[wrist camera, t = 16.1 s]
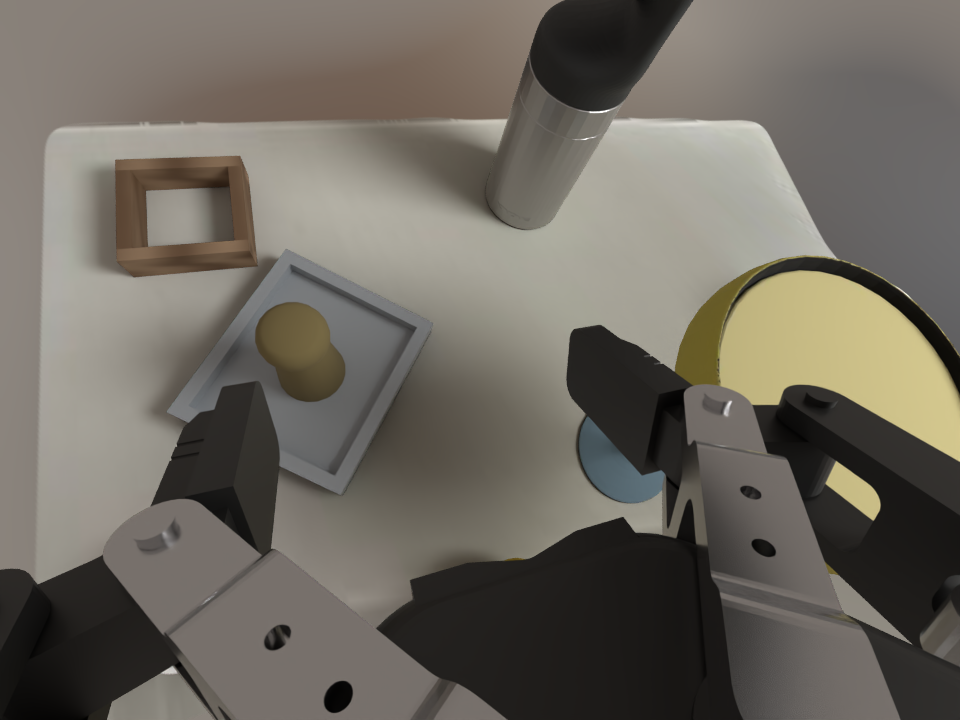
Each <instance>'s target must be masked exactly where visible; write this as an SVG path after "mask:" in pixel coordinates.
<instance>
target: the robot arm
mask: <svg viewBox="0 0 960 720" xmlns="http://www.w3.org/2000/svg"><path fill="white" fill-rule="evenodd" d="M692 2H693V0H564V1H562V2H560V3H558V4H556V5H554V6H553V7H552V8H550V9H549V10H548V11H547V12H546V14H545V15H544V17H543V18H542V20H541V21H540V24H539V26H538V28H537V31H536V34H535V37H534V40H533V43H532V46H531V50H530V52H529V55H528V58H527V61H526V64H525V68H524V71H523V74H522V77H521V80H520V83H519V86H518V89H517V92H516V95H515V99H514V102H513V105H512V108H511V111H510V114H509V117H508V120H507V123H506V126H505V129H504V132H503V135H502V138H501V141H500V144H499V147H498V150H497V153H496V156H495V159H494V162H493V165H492V168H491V171H490V174H489V177H488V181H487V184H486V198H487V202H488V204H489V206H490V208H491V209H492V211H493V212H494V214H495V215H496V216H497V217H499V218H500V219H501V220H502V221H504V222H505V223H507V224H509V225H511V226H513V227H516V228H521V229H536V228H540V227H543V226H545V225H546V224H548V223H549V222H551V220H552V219H553V218H554V217H555V215H556V213H557V212H558V210H559V208H560V207H561V205H562V204H563V202H564V200H565V199H566V197H567V196H568V194H569V192H570V191H571V189H572V187H573V186H574V184H575V182H576V181H577V179H578V177H579V176H580V174H581V172H582V171H583V169H584V167H585V166H586V164H587V162H588V161H589V159H590V157H591V156H592V154H593V152H594V151H595V149H596V147H597V146H598V144H599V142H600V141H601V139H602V137H603V136H604V134H605V132H606V131H607V129H608V127H609V126H610V124H611V122H612V120H613V119H614V117H615V116H616V114H617V112H618V110H619V109H620V107H621V106H622V104H623V102H624V101H625V99H626V97H627V96H628V94H629V92H630V91H631V89H632V88H633V86H634V85H635V84H636V83H637V82H638V81H639V80H640V78H641V77H642V76H643V75H644V73H645V72H646V70H647V69H648V67H649V65H650V64H651V63H652V61H653V59H654V58H655V56H656V55H657V53H658V51H659V50H660V49H661V47H662V45H663V44H664V43H665V41H666V40H667V38H668V37H669V35H670V33H671V32H672V31H673V29H674V28H675V26H676V25H677V23H678V22H679V20H680V19H681V17H682V16H683V15H684V13H685V12H686V10H687V9H688V7H689V6H690V5H691V3H692ZM566 380H567V387H568V391H569V394H570V396H571V397H572V399H573V400H574V401H575V402H576V404H577V405H578V406H579V407H580V408H581V409H582V410H583V411H584V412H585V413H586V415H587V416H588V417H589V418H590V419H591V420H592V421H593V422H594V423H595V424H596V426H597V427H598V428H599V429H600V430H601V431H602V432H603V433H604V434H605V435H606V437H607V438H608V439H609V440H610V441H611V442H612V443H613V444H614V445H615V446H616V448H617V449H618V450H619V451H620V452H621V453H622V454H623V455H624V456H625V458H626V459H627V460H628V461H629V462H630V463H631V464H632V465H633V466H634V467H635V469H636V470H637V471H638V472H639V473H640V474H641V475H642V476H643V475H646V474H650V473H654V472H657V471H661V470H662V471H663V472H664V473H665V475H664V479H663V484H662V535H659V534H652V533H635V532H634V530H633V529H632V528H631V526H630V525H629V524H628V523H627V521H626V520H625V519H624V517H621V518H618V519H614V520H611V521H608V522H604V523H601V524H597V525H594V526H591V527H587V528H584V529H581V530H577V531H575V532H573V533H572V534H570V535H568V536H567V537H565V538H564V539H562V540H560V541H559V542H557V543H556V544H554V545H552V546H551V547H549V548H547V549H546V550H544V551H543V552H541V553H539V554H538V555H536V556H534V557H532V558H530V559H525V560H510V561H492V562H475V563H466V564H463V565H459V566H456V567H452V568H449V569H446V570H442V571H439V572H436V573H432V574H429V575H425V576H422V577H419V578H415V579H412V580H410V583H411V590H412V596H413V600H411V601H410V602H408V603H406V604H405V605H403V606H402V607H400V608H399V609H398V610H396V611H395V612H394V613H392V614H391V615H390V616H389V617H388V618H387V619H385V620H384V621H383V622H382V623H381V624H380V625H379V626H378V627H377V628H374V627H373V626H372V625H371V624H369V623H368V622H367V621H366V620H364V619H363V618H362V617H361V616H359V615H358V614H357V613H356V612H354V611H353V610H352V609H351V608H350V607H348V606H347V605H346V604H345V603H343V602H342V601H341V600H340V599H338V598H337V597H336V596H335V595H333V594H332V593H331V592H330V591H328V590H327V589H326V588H325V587H323V586H322V585H321V584H320V583H319V582H317V581H316V580H315V579H314V578H312V577H311V576H310V575H309V574H307V573H306V572H305V571H304V570H302V569H301V568H300V567H299V566H297V565H296V564H295V563H294V562H292V561H291V560H290V559H289V558H287V557H286V556H285V555H284V554H282V553H281V552H279V551H278V550H275V549H271V543H272V533H273V523H274V513H275V503H276V493H277V483H278V473H279V463H280V450H279V443H278V438H277V434H276V430H275V427H274V424H273V420H272V417H271V414H270V411H269V407H268V404H267V401H266V397H265V394H264V391H263V388H262V385H261V383H260V382H259V381H253V382H246V383H240V384H234V385H228V386H223V387H222V388H221V391H220V394H219V397H218V400H217V403H216V406H215V409H214V410H209V411H203V412H199V413H198V414H197V415H196V416H195V417H194V418H193V419H192V420H191V421H190V422H189V423H188V424H187V425H186V426H185V427H184V428H183V430H182V433H181V435H180V437H179V440H178V442H177V447H175V449H174V452H173V454H172V456H171V459H172V461H169V464H168V466H167V468H166V471H165V473H164V476H163V478H162V480H161V483H160V485H159V488H158V490H157V492H156V495H155V497H154V500H153V502H152V504H151V507H149V508H147V509H145V510H143V511H141V512H139V513H137V514H136V515H134V516H133V517H131V518H130V519H128V520H127V521H126V522H124V523H123V524H122V525H121V526H120V527H119V528H118V529H117V530H116V531H115V532H114V533H113V534H112V535H111V537H110V538H109V540H108V541H107V543H106V545H105V547H104V551H103V555H102V556H100V557H98V558H96V559H94V560H92V561H90V562H88V563H86V564H83V565H81V566H79V567H77V568H74V569H72V570H70V571H68V572H65V573H63V574H61V575H58V576H56V577H54V578H52V579H49V580H47V581H45V582H43V583H40V584H37V583H36V582H35V581H34V579H33V578H32V577H31V575H30V574H29V573H27V572H26V571H23V570H20V569H4V570H0V720H107V717H108V714H109V710H110V707H111V703H112V701H114V700H116V699H117V698H119V697H121V696H122V695H124V694H126V693H128V692H129V691H131V690H133V689H134V688H136V687H138V686H139V685H141V684H143V683H145V682H146V681H148V680H150V679H151V678H153V677H155V676H157V675H158V674H160V673H162V672H163V671H165V670H167V669H169V668H170V667H172V666H173V668H174V669H175V670H176V671H177V673H178V674H179V675H180V677H181V678H182V679H183V680H184V682H185V683H186V684H187V686H188V687H189V688H190V689H191V691H192V692H193V693H194V695H195V696H196V697H197V698H198V700H199V701H200V702H201V704H202V705H203V706H204V708H205V709H206V710H207V711H208V713H209V714H210V715H211V716H212V718H213V719H214V720H960V462H959V461H958V460H956V459H954V458H952V457H951V456H949V455H947V454H945V453H944V452H942V451H940V450H938V449H937V448H935V447H933V446H931V445H929V444H928V443H926V442H924V441H922V440H921V439H919V438H917V437H915V436H914V435H912V434H910V433H908V432H907V431H905V430H903V429H901V428H900V427H898V426H896V425H894V424H893V423H891V422H889V421H887V420H886V419H884V418H882V417H880V416H878V415H877V414H875V413H873V412H871V411H870V410H868V409H866V408H864V407H863V406H861V405H859V404H857V403H856V402H854V401H852V400H850V399H849V398H847V397H845V396H843V395H841V394H839V393H837V392H834V391H832V390H829V389H826V388H822V387H818V386H812V385H792V386H789V387H787V388H785V389H784V391H783V394H782V396H781V399H780V402H779V404H778V405H752V404H751V402H750V401H749V400H748V399H747V398H746V397H744V396H743V395H742V394H740V393H738V392H736V391H734V390H731V389H728V388H725V387H722V386H717V385H709V384H702V385H695V386H693V385H692V384H691V383H689V382H688V381H686V380H685V379H684V378H682V377H681V376H679V375H678V374H677V373H675V372H674V371H672V370H671V369H670V368H668V367H667V366H665V365H664V364H660V361H658V360H657V359H656V358H654V357H653V356H651V357H650V354H649V353H647V352H646V351H644V350H643V349H642V348H640V347H639V346H637V345H635V344H632V343H630V342H627V341H625V340H622V339H620V338H618V337H617V336H616V335H614V334H613V333H611V332H610V331H609V330H607V329H606V328H605V327H603V326H602V325H596V326H589V327H583V328H577V329H574V330H573V331H572V333H571V335H570V343H569V354H568V366H567V379H566ZM836 461H837V462H838V463H840V464H841V465H842V466H844V467H845V468H847V469H848V470H849V471H851V472H852V473H854V474H855V475H856V476H858V477H859V478H861V479H862V480H864V481H865V482H866V483H868V484H869V485H870V486H871V487H872V488H873V489H874V490H875V491H876V493H877V495H878V497H879V499H880V510H879V512H878V514H877V516H876V518H875V519H874V521H873V520H872V519H870V518H869V517H868V516H866V515H865V514H864V513H863V512H861V511H860V510H859V509H857V508H856V507H855V506H854V505H852V504H851V503H850V502H848V501H847V500H846V499H844V498H843V497H842V496H841V495H839V494H838V493H837V492H835V491H834V490H833V489H832V488H830V487H829V486H828V485H826V481H827V479H828V477H829V475H830V473H831V471H832V469H833V467H834V465H835V463H836ZM825 562H826V563H827V564H828V565H829V566H830V567H831V568H832V569H833V570H834V571H835V572H836V573H837V574H838V575H839V576H840V577H842V578H843V579H844V580H845V581H846V582H847V583H848V584H849V585H850V586H851V587H852V588H853V589H854V590H856V592H858V593H859V594H860V595H861V596H862V597H863V598H864V599H865V600H866V601H867V602H868V603H869V604H870V605H871V606H872V607H873V608H874V609H876V610H877V611H878V612H879V613H880V614H881V615H882V616H883V617H884V618H885V619H886V620H887V621H888V622H889V623H891V624H892V625H893V626H894V627H895V628H896V629H897V630H898V631H899V632H900V633H901V634H902V635H903V636H904V637H905V638H906V639H907V640H909V641H910V642H911V643H912V644H913V645H911V644H909V643H907V642H905V641H903V640H901V639H898V638H896V637H894V636H892V635H890V634H888V633H885V632H883V631H881V630H879V629H877V628H875V627H872V626H870V625H868V624H866V623H864V622H862V621H859V620H857V619H855V618H853V617H851V616H848V615H846V614H845V613H844V612H843V610H842V608H841V606H840V603H839V600H838V598H837V595H836V592H835V589H834V587H833V584H832V581H831V578H830V575H829V573H828V570H827V567H826V564H825Z"/></svg>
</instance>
